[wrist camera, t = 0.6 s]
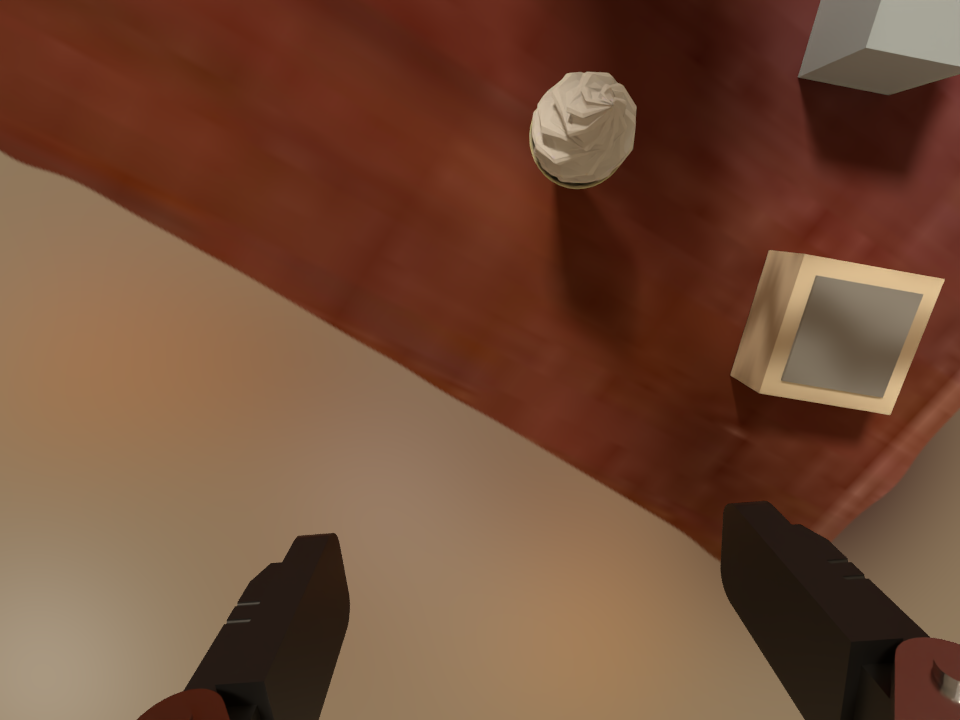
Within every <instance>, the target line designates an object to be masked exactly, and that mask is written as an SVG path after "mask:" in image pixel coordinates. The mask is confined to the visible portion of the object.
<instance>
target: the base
mask: <svg viewBox="0 0 960 720" xmlns="http://www.w3.org/2000/svg"><path fill="white" fill-rule="evenodd" d="M944 280H945V279H940V278H935V277H929V276H924V275H918V274H912V273H907V272H901V271H896V270H890V269H885V268H879V267H873V266H868V265H862V264H857V263H851V262H846V261H840V260H835V259H829V258H823V257H818V256H812V255H807V254H799V253H790V252H781V251H772V250H769V252H768V255H767V258H766V261H765V265H764V268H763V271H762V274H761V278H760V281H759V284H758V287H757V291H756V294H755V297H754V300H753V303H752V307H751V310H750V313H749V316H748V320H747V323H746V326H745V329H744V332H743V336H742V339H741V342H740V345H739V349H738V352H737V355H736V358H735V362H734V365H733V368H732V371H731V374H730V376H732V377H734V378H735V379H737V380H739V381H740V382H742V383H743V384H745V385H747V386H748V387H750V388H751V389H753V390H755V391H756V392H758V393H760V394H766V395H773V396H779V397H785V398H791V399H797V400H803V401H809V402H815V403H821V404H827V405H833V406H839V407H845V408H851V409H857V410H863V411H870V412H876V413H882V414H888V415H890V414H891V412H892V409H893V407H894V404H895V402H896V399H897V397H898V394H899V392H900V390H901V387H902V385H903V382H904V380H905V377H906V375H907V372H908V370H909V367H910V365H911V362H912V360H913V357H914V355H915V352H916V350H917V347H918V345H919V342H920V340H921V337H922V335H923V332H924V330H925V327H926V325H927V322H928V320H929V317H930V315H931V312H932V310H933V307H934V305H935V302H936V300H937V297H938V295H939V292H940V290H941V288H942V285H943V283H944Z"/></svg>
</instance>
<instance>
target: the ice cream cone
mask: <svg viewBox="0 0 960 720" xmlns="http://www.w3.org/2000/svg"><path fill="white" fill-rule="evenodd" d="M537 106H538V107H537V109H536V110H535V111H534V113H533V119H532V122H531V126H530V134H529V137H530V148H531V153H532V156H533V158H534V161H535V163H536V164H537V166H538V168H539V169H540V171H541V172H542V173H543V174H544V175H545V176H546V177H547V178H548V179H550V180H551V181H552V182H554V183H556V184H558V185H560V186H563V187H566V188H571V189H585V188H589V187H593V186H595V185H597V184H600V183H602V182H603V181H605V180H606V179H608V178H609V177H610V176H611V175H612V174H613V173H614V172H615V171H616V170H617V169H618V167H619V166H620V165H621V164H622V162H623V161H624V160H625V159H626V157H627V156H628V155H629V154H630V152H631V151H632V150H633V144H634V136H635V128H636V108H637V107H636V105H635V103H634V102H633V100H632V99H631V97H630V95H629V94H628V92H627V91H626V89H625V87H624V86H623V85H621V84H619V83H617V82H616V80H615V79H614V78H613V77H612V76H611V75H610V74H609V73H602V72H585V73H582V72H575V73H567V74H566V75H565V76H564V78H563V79H562V80H561V81H560V82H558V83H557V84H556V85H555V86H553V87H552V88H551V89H550V90H548V91H547V92H546V93H545V95H544V96H543V97H542V99H541V100H540V102H539V103H538V105H537Z"/></svg>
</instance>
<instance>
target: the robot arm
mask: <svg viewBox="0 0 960 720" xmlns="http://www.w3.org/2000/svg"><path fill="white" fill-rule="evenodd" d="M721 578H722V583H723V586H724V590H725V592H726V595H727V597H728V599H729V601H730V603H731V604H732V606H733V607H734V609H735V611H736V612H737V614H738V615H739V617H740V619H741V620H742V622H743V623H744V625H745V626H746V628H747V630H748V631H749V633H750V634H751V635H752V637H753V639H754V641H755V642H756V644H757V645H758V647H759V648H760V650H761V652H762V653H763V655H764V656H765V658H766V659H767V661H768V662H769V664H770V666H771V667H772V669H773V670H774V672H775V673H776V675H777V677H778V678H779V680H780V681H781V683H782V684H783V686H784V688H785V689H786V691H787V692H788V694H789V696H790V697H791V699H792V700H793V702H794V703H795V705H796V707H797V708H798V710H799V711H800V713H801V714H802V716H803V718H804V719H805V720H960V645H959V644H957V643H954V642H950V641H946V640H942V639H936V638H930V637H929V636H928V635H927V634H926V633H925V632H924V631H923V630H922V629H921V628H920V627H919V626H918V625H917V624H916V623H915V622H914V621H913V620H911V619H910V618H909V617H908V616H907V615H906V614H905V613H904V612H903V611H902V610H901V609H900V608H899V607H898V606H897V605H896V604H895V603H894V602H893V601H892V600H890V599H889V598H888V597H887V596H886V595H885V594H884V593H883V592H882V591H881V590H880V589H879V588H878V587H877V586H876V585H875V584H874V583H872V582H871V580H869V579H865V577H864V574H863V573H862V572H861V571H860V570H859V569H858V568H857V567H856V566H855V565H854V564H853V563H851V562H848V560H847V558H846V557H845V556H844V555H843V554H842V553H841V552H840V551H839V550H838V549H837V548H836V547H835V546H834V545H833V544H832V543H831V542H830V541H828V540H827V539H826V538H824V537H822V536H820V535H818V534H817V533H815V532H813V531H811V530H809V529H808V528H806V527H804V526H802V525H800V524H797V525H791V524H790V523H789V522H788V521H787V519H786V518H785V517H784V516H783V515H782V514H781V513H780V512H779V511H778V510H777V509H776V508H775V507H774V506H773V505H772V504H770V503H769V502H767V501H758V502H745V503H732V504H727V505H726V506H725V509H724V513H723V530H722V550H721ZM349 613H350V600H349V592H348V586H347V582H346V576H345V570H344V565H343V560H342V554H341V549H340V544H339V540H338V537H337V535H336V534H335V533H329V534H315V535H303V536H298V537H297V538H296V539H295V540H294V542H293V544H292V546H291V548H290V549H289V551H288V553H287V555H286V556H285V558H284V560H283V562H282V563H271V564H270V565H268V566H267V567H266V568H265V569H264V570H263V571H262V572H261V573H259V574H258V575H257V576H256V577H255V578H254V579H253V580H251V581H250V583H249V584H248V586H247V588H246V589H245V591H244V593H243V595H242V596H241V597H240V599H239V601H238V605H237V606H236V607H235V608H234V609H233V611H232V613H231V614H230V616H229V617H228V619H227V624H224V625H223V627H222V629H221V630H220V632H219V634H218V636H217V637H216V639H215V640H214V642H213V643H212V645H211V647H210V649H209V650H208V652H207V653H206V655H205V657H204V658H203V660H202V662H201V663H200V665H199V667H198V668H197V670H196V671H195V673H194V675H193V676H192V678H191V680H190V681H189V683H188V684H187V686H186V688H185V690H184V691H182V692H180V693H177V694H174V695H172V696H170V697H168V698H166V699H164V700H162V701H161V702H159V703H157V704H155V705H154V706H153V707H151V708H150V709H148V710H147V711H146V712H145V713H144V714H142V715H141V716H140V717H139V718H138V719H137V720H319V717H320V714H321V710H322V707H323V704H324V701H325V698H326V694H327V691H328V688H329V685H330V682H331V678H332V675H333V672H334V669H335V666H336V662H337V659H338V656H339V653H340V649H341V646H342V643H343V640H344V637H345V633H346V630H347V627H348V622H349Z"/></svg>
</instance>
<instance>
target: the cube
mask: <svg viewBox="0 0 960 720" xmlns="http://www.w3.org/2000/svg"><path fill="white" fill-rule="evenodd" d="M958 74H960V0H821V2H820V5H819V8H818V12H817V15H816V18H815V22H814V25H813V28H812V32H811V35H810V38H809V42H808V45H807V48H806V52H805V55H804V58H803V62H802V65H801V69H800V72H799V75H798V78H803V79H808V80H814V81H819V82H824V83H829V84H834V85H839V86H844V87H849V88H854V89H859V90H864V91H869V92H875V93H880V94H885V95H891V94H895V93H898V92H901V91H905V90H908V89H911V88H915V87H918V86H921V85H925V84H928V83H931V82H935V81H938V80H941V79H945V78H948V77H951V76H955V75H958Z"/></svg>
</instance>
